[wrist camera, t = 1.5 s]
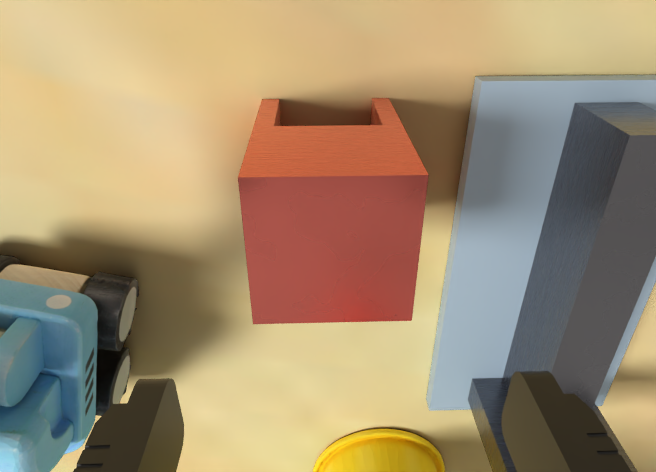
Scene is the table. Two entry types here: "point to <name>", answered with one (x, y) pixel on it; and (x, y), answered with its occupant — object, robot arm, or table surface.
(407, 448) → the stacking cups
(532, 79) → the base board
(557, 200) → the coupler rail
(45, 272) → the toy excavator
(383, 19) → the table surface
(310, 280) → the red slotted block
